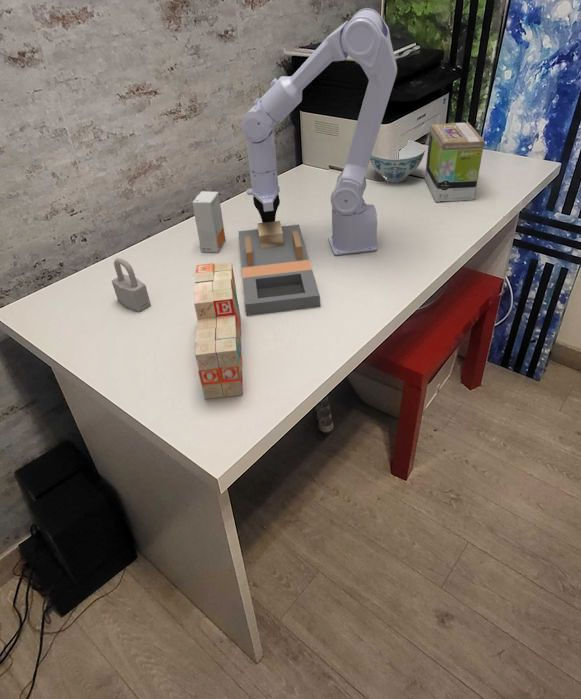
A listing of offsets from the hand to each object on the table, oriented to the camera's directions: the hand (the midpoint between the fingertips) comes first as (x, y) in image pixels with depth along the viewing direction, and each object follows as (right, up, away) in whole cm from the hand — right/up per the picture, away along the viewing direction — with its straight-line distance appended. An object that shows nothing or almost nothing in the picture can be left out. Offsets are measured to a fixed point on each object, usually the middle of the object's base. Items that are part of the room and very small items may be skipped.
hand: (269, 227), depth 119 cm
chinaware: (+33, +20, +27) cm, 47 cm away
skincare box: (-13, -4, +3) cm, 14 cm away
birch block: (0, -3, -3) cm, 4 cm away
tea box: (+46, +14, +18) cm, 51 cm away
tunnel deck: (+2, -11, -8) cm, 13 cm away
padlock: (-26, -18, -14) cm, 35 cm away
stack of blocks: (-7, -28, -28) cm, 40 cm away
